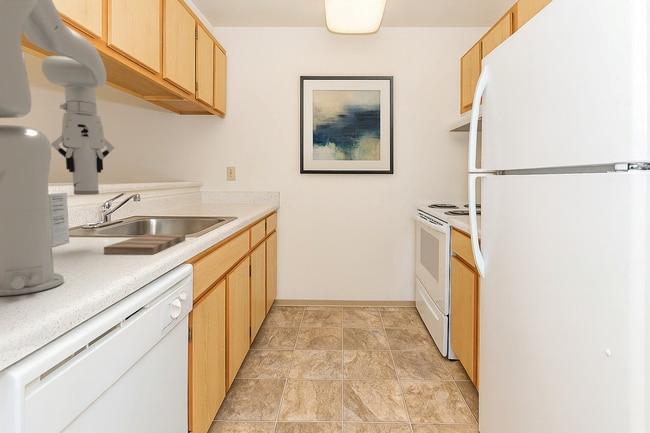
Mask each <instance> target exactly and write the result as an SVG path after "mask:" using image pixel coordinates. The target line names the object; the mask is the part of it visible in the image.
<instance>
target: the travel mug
mask: <svg viewBox="0 0 650 433" xmlns="http://www.w3.org/2000/svg"><path fill="white" fill-rule="evenodd" d="M78 127H86V126H85V125H80V124H78ZM86 128H87V127H86ZM87 129H88V128H87ZM87 129H85V128H84V129H83V130H82V131H81V133H84V134H81V136H80V137H81V138H83V139H82V148H74V150H73V152H72V154H71V156H72V159H73V168H74V172H72V182H73V186H72V187H73V194H74V196H80V195H81V196H82V195H83V196H85V195H86V196H88V195H89V196H90V195H93V196H94V195H99V194H100V192H99V175H98V174H99V173H98V170H97V153H96V149H91V148H89V142H88V140H89V139H88V138H90V137H89V136H88V134H87V132H88V130H87ZM85 133H86V134H85Z"/></svg>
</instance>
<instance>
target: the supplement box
mask: <svg viewBox="0 0 650 433" xmlns="http://www.w3.org/2000/svg"><path fill="white" fill-rule="evenodd" d="M67 194H68V193H67V192H49V191H48V197H49V212H50V226H51V240H52V248H54V247H57V246H61V245H65V244H68V243H70V231H69V230H70V228H69V227H70V226H69V212H68V195H67Z"/></svg>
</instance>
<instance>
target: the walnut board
mask: <svg viewBox="0 0 650 433" xmlns="http://www.w3.org/2000/svg"><path fill="white" fill-rule="evenodd" d="M185 241H186V234H173V233H172V234H163V233H162V234H157V233H155V234H154V233H152V234H150V233H148V234H147V233H145V234H142V235H139V236H135V237H132V238H129V239H126V240H122V241H120V242H116V243H112V244H110V245H106V246H104V247H103V254H104V255H151V256H153V255H155V254H157V253H159V252H161V251H164V250H166V249H169V248H172V247H174V246H176V245H178V244H180V243H183V242H185Z"/></svg>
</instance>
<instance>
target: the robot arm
mask: <svg viewBox="0 0 650 433" xmlns="http://www.w3.org/2000/svg"><path fill="white" fill-rule="evenodd" d="M53 1H54V0H0V119H17V118H22V117H25V116H27V115H28V114H29V113H30V112H31V110H32V94H31V87H30V84H29V83H30V82H29V76H28V72H27V69H26V67H27V66H26V62H25V57H24V52H23V51H24V50H23V44H22V43H23V42H22V36H23V34H24V36H25V38H26V39H27V40H28V41H29V42H30V43H31V44H33V45H34V46H36V47H38V48H40V49H43V50H45V51H47V52H49V53H53V54H56V55H50V56H49V55H48V56H46V57H45V58H44V59H42V60H43V61H42V63H41V70H42V74H43V75H44V77H45V78H46V80H47V81H49V82H50V83H51V84H53V85H55V86H59V87H63V88H64V96H65V98H64V99H65V100H64V101H65V102H64V103H59V109H61V110H64V111H65V112H63V115H62V125H61V135H60V136H59V137H58V138H57V139H55V140H54V141H52V142H50V140H49V139H48V137H47V136H46V135H45V134H44V133H43V132H41V131H39V130H37V129H35V128H33V127H29V126H24V125H10V124H0V296H5V297H6V296H15V295H16V296H17V295H25V294H31V293H36V292H37V293H38V292H42V291H45V290H49V289H52V288H55V287H58V286H59V285H61V284H62V283H64V275H62V274H60V273H55V271H54V267H55V266H54V256H53V247H52V240H51V226H50V212H49V197H48V192H49V174H50V165H51V159H52V148H53V149H54V150H56V151H57V152H58V153H59V154H60V155H61V156H62V157H64V158H65V165H66V167H65V168H66V170H68V173H73V172H74V168H73V159H72V155H71V154H72V152H73V150H74V148H82V139H83V138H81V137H80V136H81V134H84V133H81V131H82V130H83V129H84V128H85V129H87V128H88V129H87V130H88V132H87V134H88V136H89V137H90V138H88V139H89V140H88V142H89V148H91V149H96V153H97V170H98V174H99V173H100V174H101V173H102V171H103V170H104V163H103V162H104V161H103V159H104V158H106V156H108V155H109V154H110V153H111V152H112V151H113V150H114V149H115V147H114V146H113V145H112V143H110V142H109V141H108V140H107V139H105V134H104V127H103V121H102V118H101V116H100V115H98V111H97V110H98V109H97V94H96V92H97V91H96V89H98V88H99V89H100V88H102V87H104V86H105V85H106V83H107V79H108V78H107V77H108V76H107V71H106V68H105V64H104V61H103V60H102V57H101V56H100V55H101V54H100V52H99V51H98V49H97V48H96V47H95V45H93V43H92V42H90V41H89V40H88V39H86V38H85V37H84V36H83V35H81V34H79V33H78V32H77V31H75V30H74V29H72V28H70V27H69V26H67V25H65V23H64V21H63V19H62V17H61V15H60V13H59V12H58V9H57V7H56V6H55V3H54V2H53ZM78 124H80V125H85V126H86V127H87V128H86V127H78ZM85 134H86V133H85ZM60 144H62V147H63V148H65V149H66V150H64V149H63V148H62V147H61V146H60ZM105 147H106V149H105V150H103V151H101V150H102V149H104V148H105Z"/></svg>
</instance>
